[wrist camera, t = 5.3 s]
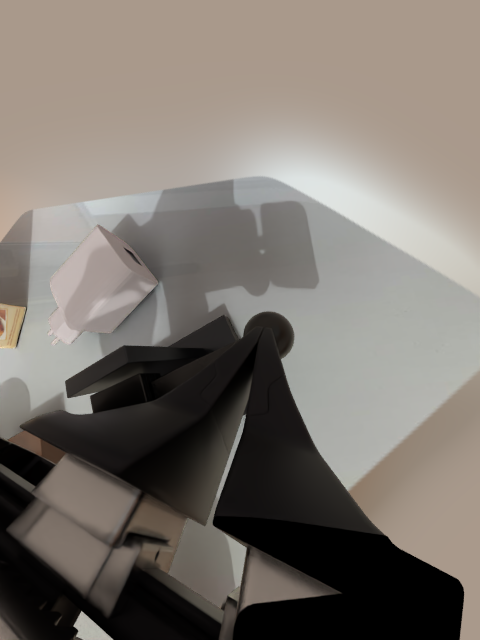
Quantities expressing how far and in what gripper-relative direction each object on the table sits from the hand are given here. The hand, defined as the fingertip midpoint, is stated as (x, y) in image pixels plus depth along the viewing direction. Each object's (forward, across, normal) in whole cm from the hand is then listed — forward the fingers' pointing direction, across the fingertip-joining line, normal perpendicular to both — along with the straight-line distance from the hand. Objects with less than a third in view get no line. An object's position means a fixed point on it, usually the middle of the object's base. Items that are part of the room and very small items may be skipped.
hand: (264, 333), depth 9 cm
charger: (+7, +23, +4) cm, 24 cm away
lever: (0, +4, +4) cm, 5 cm away
